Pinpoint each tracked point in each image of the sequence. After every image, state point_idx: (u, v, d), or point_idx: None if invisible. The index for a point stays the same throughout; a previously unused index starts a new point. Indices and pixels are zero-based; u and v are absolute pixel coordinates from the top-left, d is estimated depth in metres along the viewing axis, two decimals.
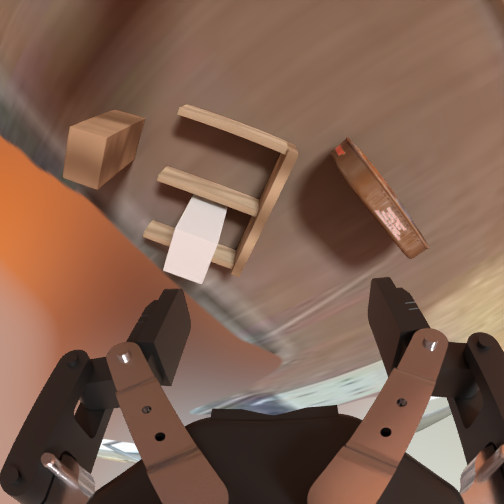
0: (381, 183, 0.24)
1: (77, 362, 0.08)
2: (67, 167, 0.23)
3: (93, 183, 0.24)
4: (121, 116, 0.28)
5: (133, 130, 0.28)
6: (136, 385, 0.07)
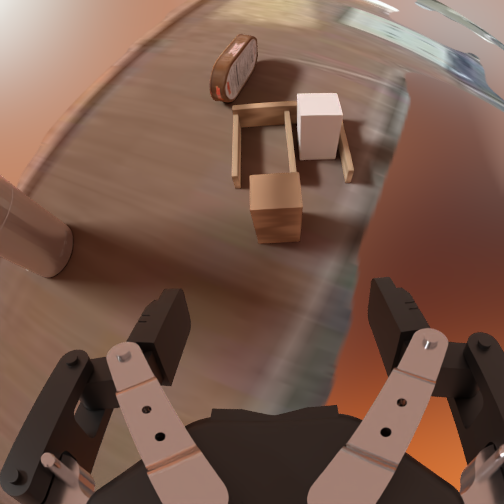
0: (217, 60, 0.40)
1: (77, 362, 0.08)
2: (290, 204, 0.29)
3: (294, 176, 0.30)
4: None
5: None
6: (136, 385, 0.07)
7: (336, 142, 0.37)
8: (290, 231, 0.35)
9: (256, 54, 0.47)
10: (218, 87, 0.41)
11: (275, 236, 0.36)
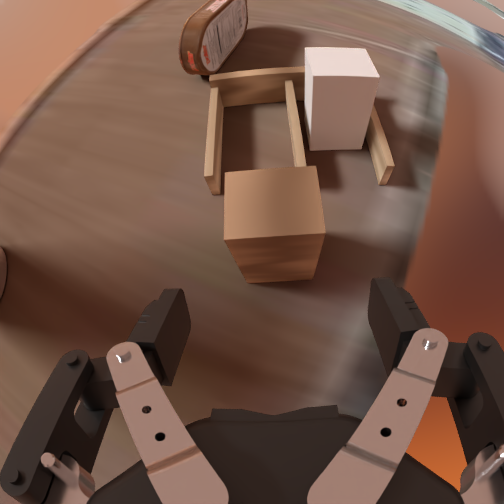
0: (189, 18, 0.25)
1: (77, 362, 0.08)
2: (302, 227, 0.15)
3: (308, 173, 0.16)
4: None
5: None
6: (136, 385, 0.07)
7: (365, 123, 0.23)
8: (298, 268, 0.20)
9: (246, 18, 0.33)
10: (190, 52, 0.27)
11: (273, 274, 0.22)
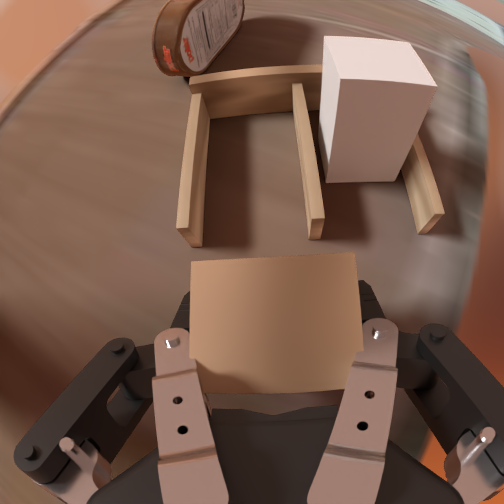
0: (166, 3, 0.18)
1: (123, 350, 0.09)
2: (325, 378, 0.08)
3: (340, 268, 0.09)
4: None
5: None
6: (174, 374, 0.07)
7: (406, 149, 0.16)
8: None
9: (242, 6, 0.26)
10: (167, 48, 0.20)
11: None
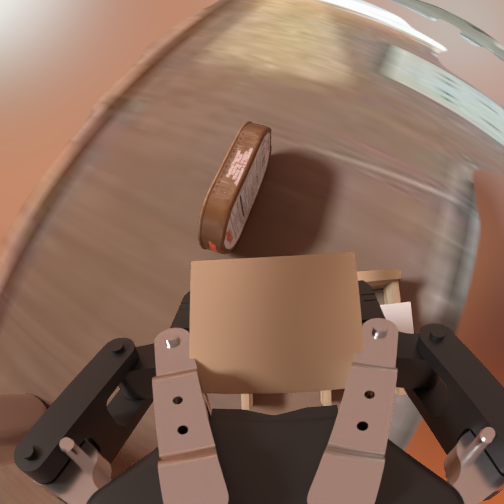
0: (207, 195, 0.27)
1: (123, 350, 0.09)
2: (326, 377, 0.08)
3: (340, 268, 0.09)
4: None
5: None
6: (175, 374, 0.07)
7: None
8: None
9: (269, 149, 0.35)
10: (212, 243, 0.28)
11: None
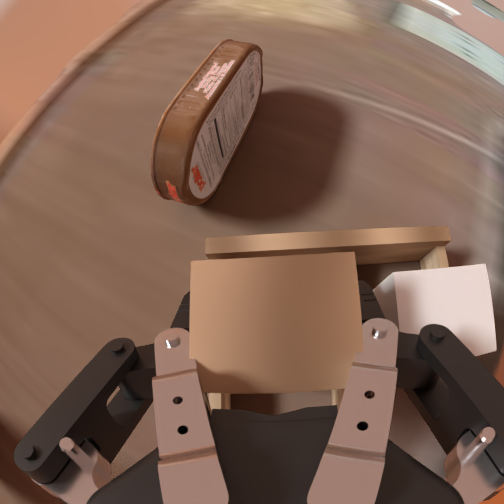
0: (165, 113, 0.17)
1: (123, 350, 0.09)
2: (325, 377, 0.08)
3: (340, 268, 0.09)
4: None
5: None
6: (175, 374, 0.07)
7: None
8: None
9: (260, 81, 0.25)
10: (171, 184, 0.18)
11: None
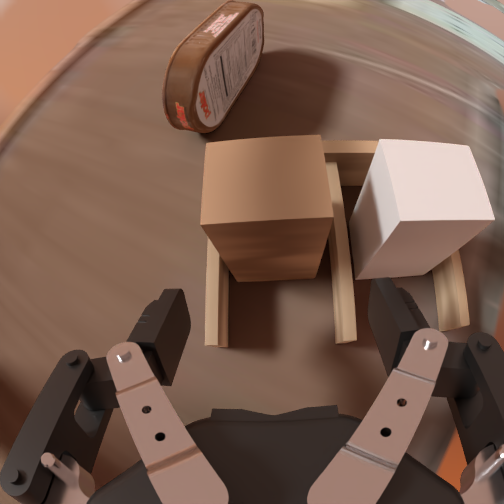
0: (178, 46, 0.17)
1: (77, 362, 0.08)
2: (302, 209, 0.11)
3: (310, 143, 0.12)
4: None
5: None
6: (136, 385, 0.07)
7: (443, 258, 0.15)
8: (298, 264, 0.17)
9: (262, 39, 0.25)
10: (180, 105, 0.19)
11: (268, 272, 0.18)
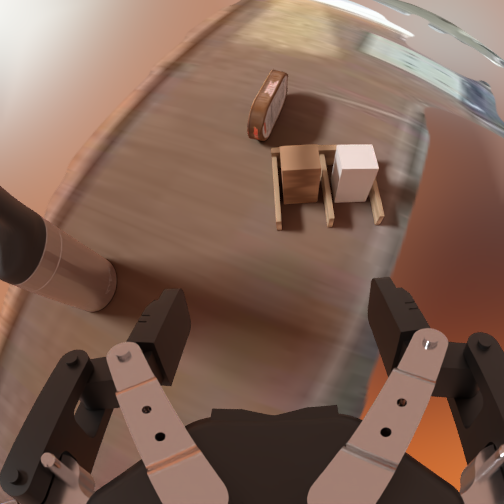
0: (254, 100, 0.44)
1: (77, 362, 0.08)
2: (312, 166, 0.38)
3: (314, 147, 0.39)
4: (282, 186, 0.45)
5: None
6: (136, 385, 0.07)
7: (369, 189, 0.41)
8: (310, 191, 0.43)
9: (286, 89, 0.51)
10: (256, 128, 0.45)
11: (298, 196, 0.44)
